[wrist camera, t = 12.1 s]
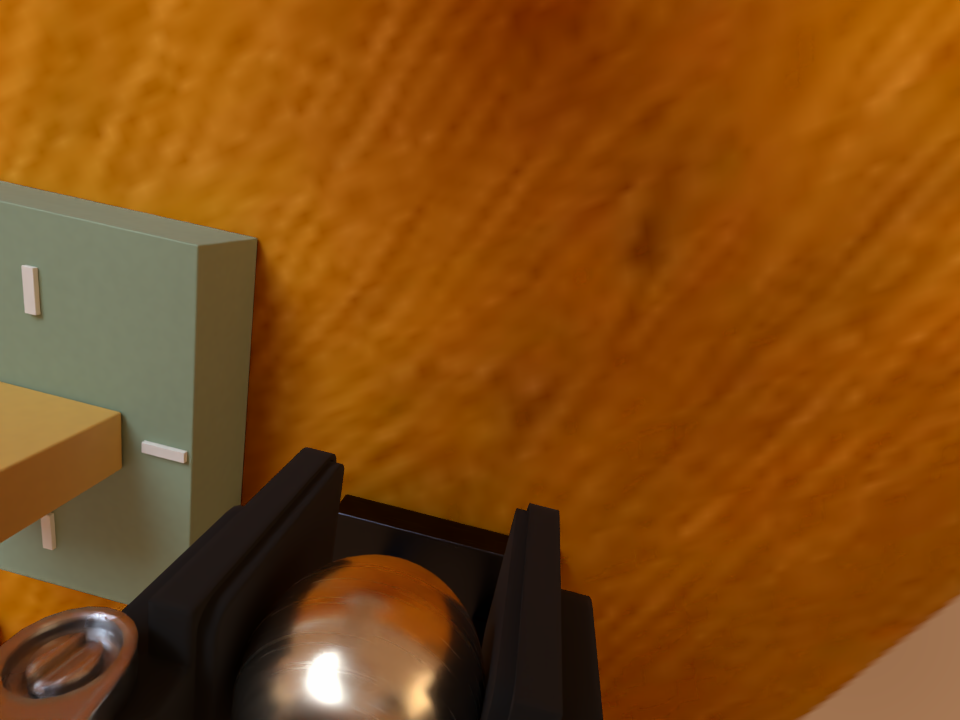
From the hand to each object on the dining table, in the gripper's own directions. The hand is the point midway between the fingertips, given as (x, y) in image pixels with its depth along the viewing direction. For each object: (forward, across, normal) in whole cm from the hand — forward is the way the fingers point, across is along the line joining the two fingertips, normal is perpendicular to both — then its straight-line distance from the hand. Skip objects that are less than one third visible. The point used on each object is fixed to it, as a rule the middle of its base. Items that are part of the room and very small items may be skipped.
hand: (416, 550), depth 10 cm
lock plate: (+8, +13, +3) cm, 16 cm away
